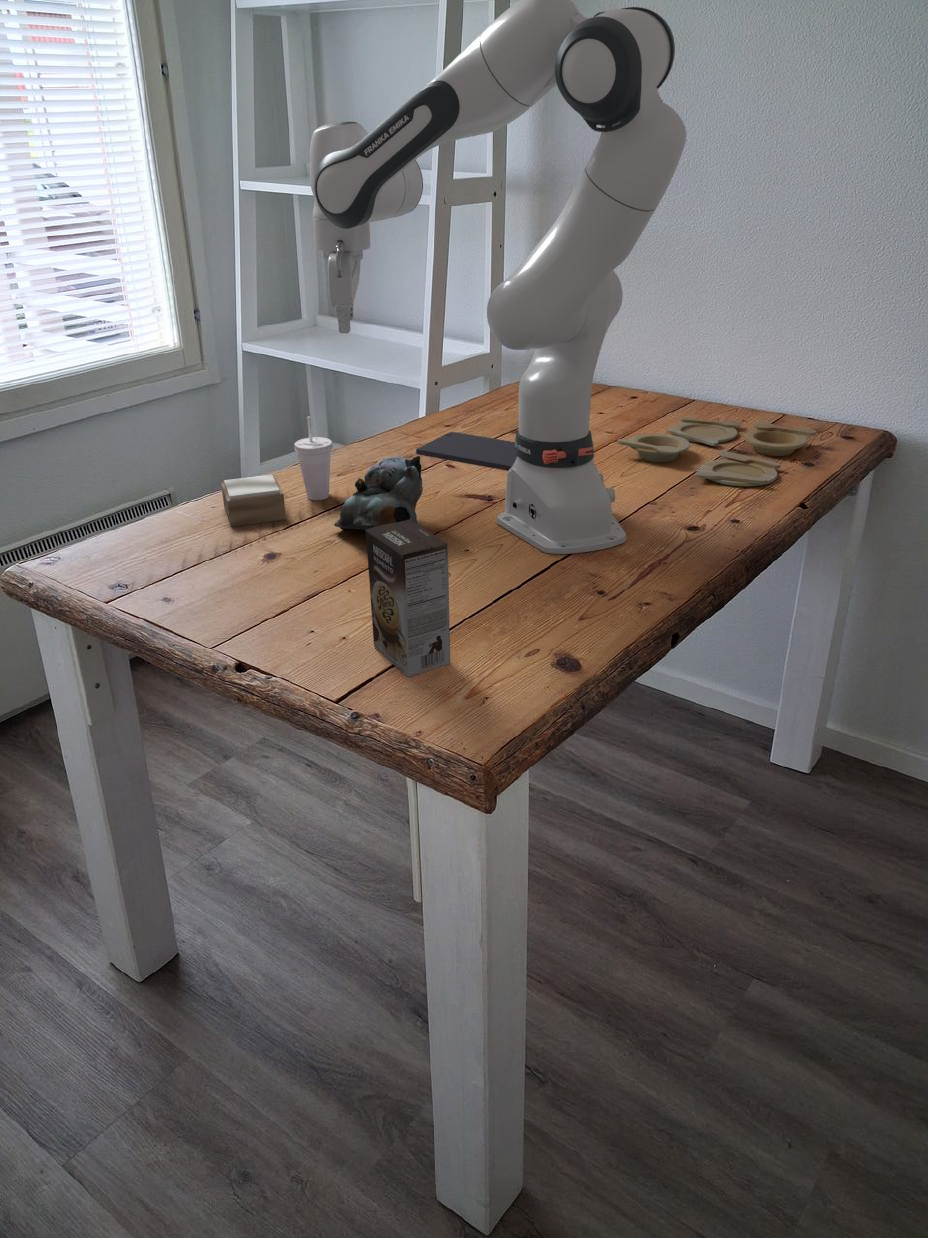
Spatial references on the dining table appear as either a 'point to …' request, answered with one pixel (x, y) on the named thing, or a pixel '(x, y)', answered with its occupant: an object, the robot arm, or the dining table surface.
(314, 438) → the smoothie
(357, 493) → the grey lumpy figure
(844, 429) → the dining table surface
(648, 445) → the tableware set
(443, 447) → the notebook
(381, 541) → the coffee box
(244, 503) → the pedestal
